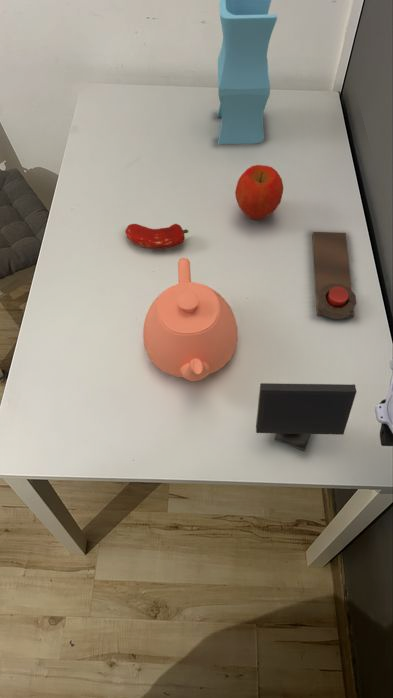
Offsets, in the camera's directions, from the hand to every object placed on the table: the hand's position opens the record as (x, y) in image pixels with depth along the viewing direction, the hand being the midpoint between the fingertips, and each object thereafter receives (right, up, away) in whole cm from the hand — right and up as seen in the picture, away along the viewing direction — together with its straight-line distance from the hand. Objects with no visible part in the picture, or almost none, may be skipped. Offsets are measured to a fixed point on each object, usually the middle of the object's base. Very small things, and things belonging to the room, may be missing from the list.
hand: (388, 440), depth 62 cm
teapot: (-25, +12, +20) cm, 34 cm away
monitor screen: (-10, 0, +7) cm, 12 cm away
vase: (-15, +59, +46) cm, 76 cm away
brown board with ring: (0, +25, +26) cm, 36 cm away
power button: (-1, +20, +21) cm, 29 cm away
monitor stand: (-10, -2, +11) cm, 15 cm away
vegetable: (-31, +31, +31) cm, 54 cm away
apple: (-13, +37, +33) cm, 51 cm away
